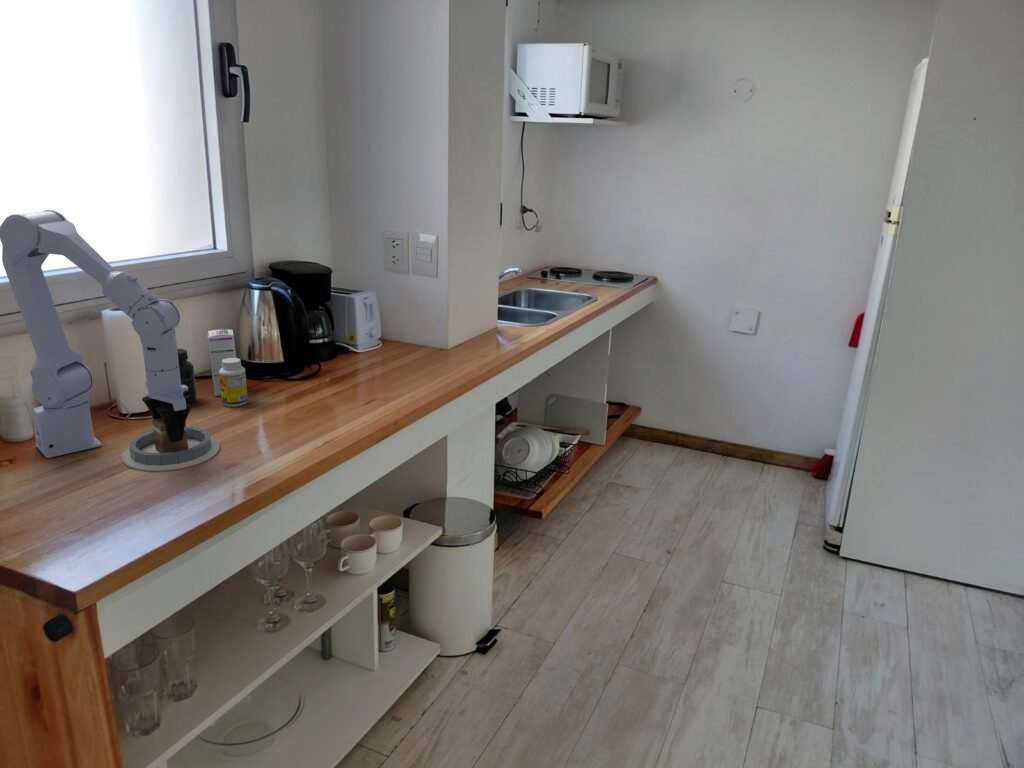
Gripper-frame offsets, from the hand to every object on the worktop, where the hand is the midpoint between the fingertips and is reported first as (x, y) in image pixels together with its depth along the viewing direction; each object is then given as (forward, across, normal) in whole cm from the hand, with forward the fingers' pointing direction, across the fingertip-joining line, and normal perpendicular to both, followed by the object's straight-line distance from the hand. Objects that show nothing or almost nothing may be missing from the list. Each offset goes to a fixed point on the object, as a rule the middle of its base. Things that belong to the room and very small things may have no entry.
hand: (170, 435), depth 144 cm
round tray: (+3, 0, 0) cm, 3 cm away
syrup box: (+4, +28, -23) cm, 36 cm away
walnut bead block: (+3, 0, 0) cm, 3 cm away
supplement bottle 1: (+4, +27, -12) cm, 30 cm away
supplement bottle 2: (+4, +19, -21) cm, 29 cm away
